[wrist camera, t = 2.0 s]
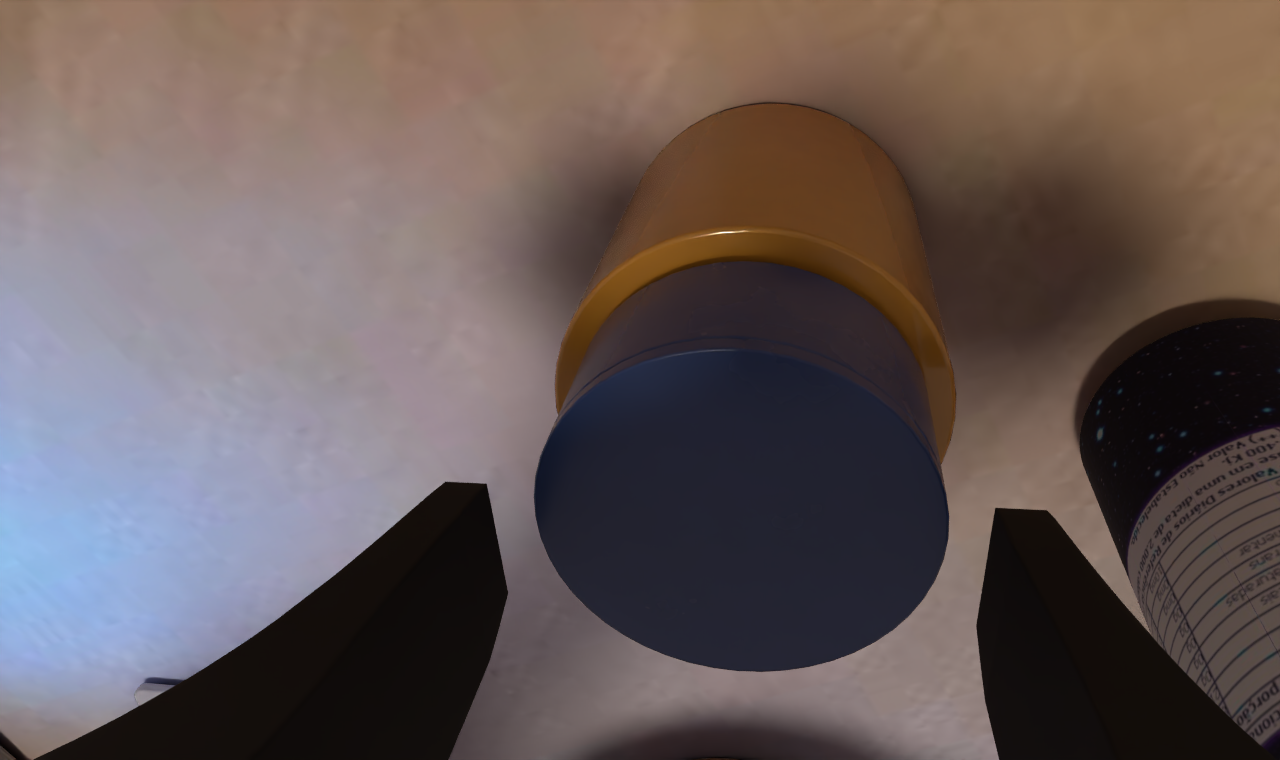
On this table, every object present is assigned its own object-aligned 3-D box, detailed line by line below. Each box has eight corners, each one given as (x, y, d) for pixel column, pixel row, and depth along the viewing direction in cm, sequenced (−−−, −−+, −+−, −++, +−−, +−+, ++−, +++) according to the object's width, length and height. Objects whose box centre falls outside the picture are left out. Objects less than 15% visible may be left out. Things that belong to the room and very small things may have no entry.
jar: (906, 375, 22) (952, 689, 14) (637, 368, 23) (541, 655, 15) (930, 98, 19) (1011, 305, 11) (615, 107, 20) (477, 299, 12)
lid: (913, 567, 16) (929, 691, 14) (593, 548, 17) (558, 660, 15) (946, 260, 13) (973, 353, 11) (557, 259, 14) (505, 344, 12)
